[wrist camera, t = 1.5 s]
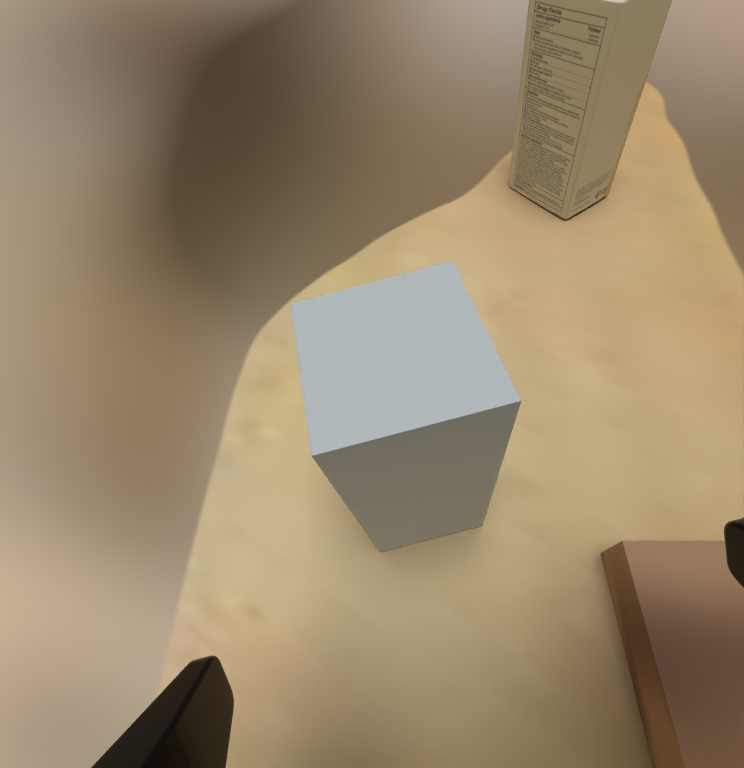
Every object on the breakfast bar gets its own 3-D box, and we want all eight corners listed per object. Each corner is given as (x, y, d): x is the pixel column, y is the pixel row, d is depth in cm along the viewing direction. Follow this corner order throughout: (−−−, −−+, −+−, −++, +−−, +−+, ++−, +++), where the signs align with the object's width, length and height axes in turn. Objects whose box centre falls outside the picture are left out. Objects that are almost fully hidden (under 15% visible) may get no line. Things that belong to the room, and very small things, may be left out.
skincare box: (608, 196, 30) (691, -30, 20) (563, 223, 29) (625, 2, 19) (545, 162, 34) (588, -47, 23) (502, 186, 33) (528, -20, 23)
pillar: (482, 525, 20) (520, 400, 9) (380, 552, 20) (312, 456, 10) (449, 433, 22) (452, 260, 12) (360, 456, 22) (290, 303, 12)
